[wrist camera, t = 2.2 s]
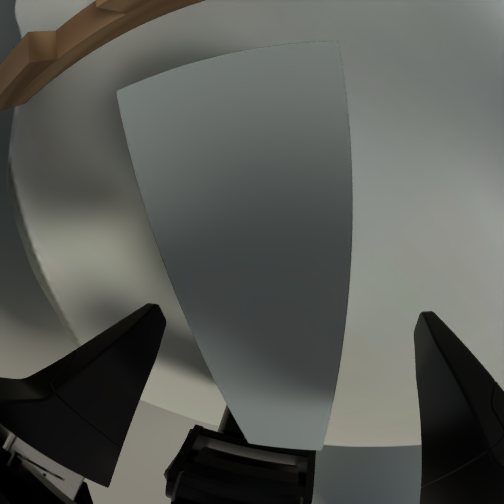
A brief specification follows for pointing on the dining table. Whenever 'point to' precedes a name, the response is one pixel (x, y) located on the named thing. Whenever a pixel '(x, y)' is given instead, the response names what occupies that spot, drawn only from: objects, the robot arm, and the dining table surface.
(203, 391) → the dining table surface
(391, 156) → the dining table surface
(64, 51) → the slotted walnut board
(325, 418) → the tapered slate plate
